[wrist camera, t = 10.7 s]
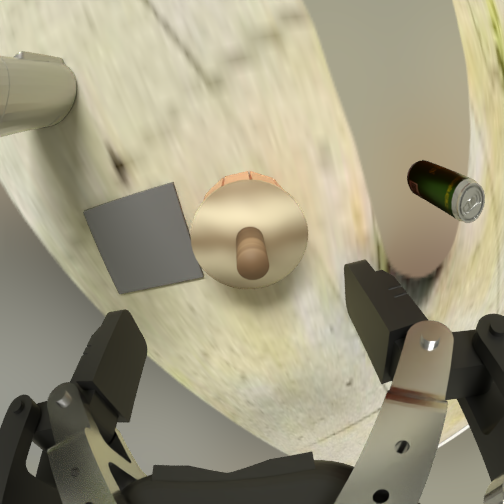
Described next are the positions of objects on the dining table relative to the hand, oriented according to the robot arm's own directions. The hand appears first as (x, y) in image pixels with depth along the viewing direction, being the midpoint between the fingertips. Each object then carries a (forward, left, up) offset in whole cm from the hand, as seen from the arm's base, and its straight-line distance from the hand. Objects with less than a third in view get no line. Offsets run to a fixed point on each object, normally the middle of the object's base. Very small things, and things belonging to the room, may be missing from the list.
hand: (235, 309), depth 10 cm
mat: (+7, -15, -28) cm, 33 cm away
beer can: (+6, +26, -28) cm, 39 cm away
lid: (+7, 0, -22) cm, 23 cm away
